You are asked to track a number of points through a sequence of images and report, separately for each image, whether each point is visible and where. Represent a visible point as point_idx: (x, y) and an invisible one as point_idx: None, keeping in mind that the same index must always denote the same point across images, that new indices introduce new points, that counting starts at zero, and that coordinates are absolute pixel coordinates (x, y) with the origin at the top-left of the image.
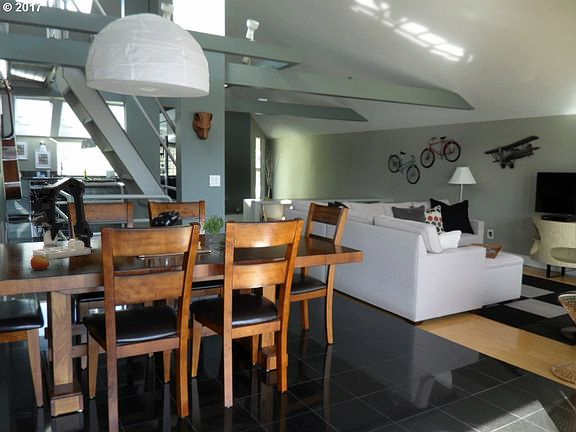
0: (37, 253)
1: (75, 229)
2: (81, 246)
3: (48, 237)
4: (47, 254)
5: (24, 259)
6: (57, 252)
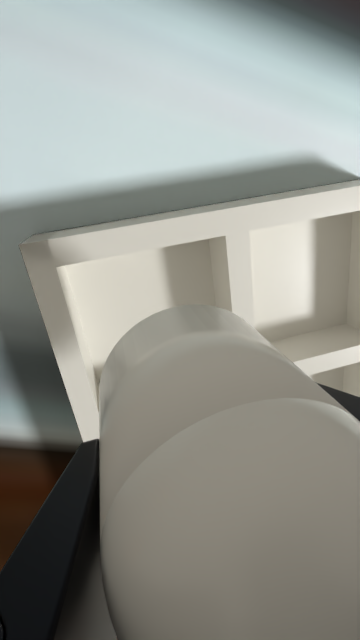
0: (278, 196)
1: None
2: None
3: (119, 430)
4: (26, 260)
5: (197, 6)
6: (72, 382)
